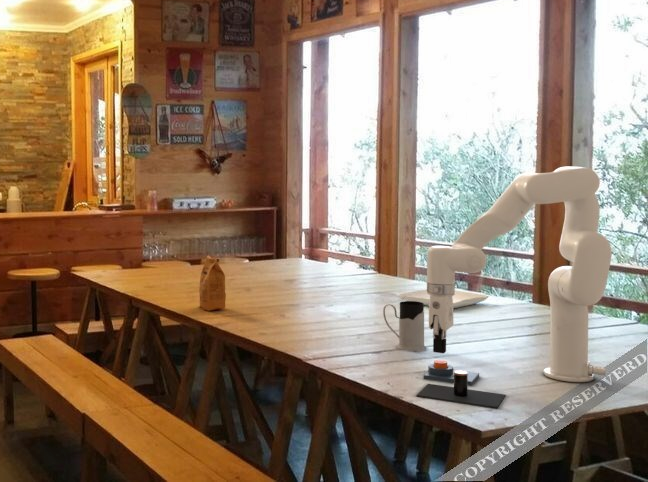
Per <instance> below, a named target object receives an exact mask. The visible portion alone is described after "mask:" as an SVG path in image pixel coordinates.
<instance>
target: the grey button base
mask: <svg viewBox="0 0 648 482" xmlns="http://www.w3.org/2000/svg"><path fill="white" fill-rule="evenodd" d="M427 367H428V371H427V372H425V374H423V380H428V381H436V382H442V383H443V382H444V383H449V384H454V371H460V370H458V369H454V367H453V366H452V365H450V364H447V368H445V369H441V368H435V367H434V363H429V365H428V366H427ZM465 371H466V370H465ZM466 372H467V373H468V386H470V387H471V386H473V385H474V384H475V382H476V381H477V380H478V379H479V378H480V373H479V372H474V371H466Z"/></svg>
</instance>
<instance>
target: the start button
mask: <svg viewBox="0 0 648 482" xmlns="http://www.w3.org/2000/svg"><path fill="white" fill-rule="evenodd" d="M433 364H434V367H435V368H441V369H445V368H447V365H448V361H446V360H442V359H437V360H434V361H433Z"/></svg>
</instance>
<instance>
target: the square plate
mask: <svg viewBox="0 0 648 482" xmlns="http://www.w3.org/2000/svg"><path fill="white" fill-rule="evenodd" d="M396 296H397V297H398V298H399V299H400V300H402V301H416V302H422V303H424V306H428V307H429V301H430V295H429V294H427V288H425V289H420V290H413V291H409V292H403V293H399V294H397V295H396ZM489 297H490V295H488V294H487V295H486V294H481V293H475V292H468V291H462V290H456V289H455V295H454V296H452V298H453V309H459V308H462V307H469V306H473V305H475V304H477V303H482V302H484V301H486V300H487V299H488V298H489Z"/></svg>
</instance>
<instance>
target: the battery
mask: <svg viewBox="0 0 648 482" xmlns="http://www.w3.org/2000/svg"><path fill="white" fill-rule="evenodd" d="M467 372H468V371H467ZM467 372H466V370H459V371H454V383H453V387H454V395H455V396H460V397H465V396H467V395H468V389H469V387H468V386H469V385H468V373H467Z"/></svg>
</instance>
